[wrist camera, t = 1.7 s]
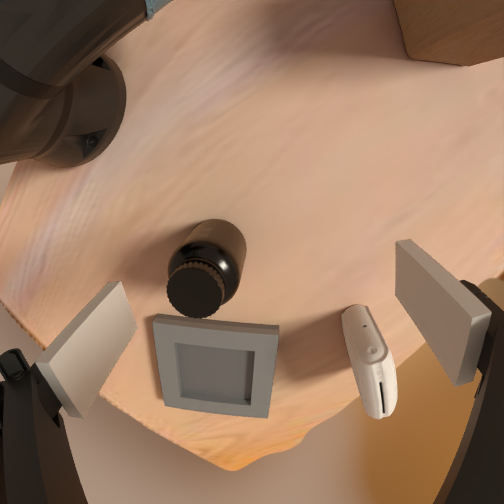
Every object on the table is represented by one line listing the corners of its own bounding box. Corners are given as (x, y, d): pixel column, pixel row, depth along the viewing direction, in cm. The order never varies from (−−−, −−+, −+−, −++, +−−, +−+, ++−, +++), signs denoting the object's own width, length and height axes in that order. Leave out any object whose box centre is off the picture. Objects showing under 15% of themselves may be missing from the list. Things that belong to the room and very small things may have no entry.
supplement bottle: (182, 263, 38) (148, 313, 26) (197, 210, 35) (163, 242, 24) (236, 281, 38) (222, 339, 27) (255, 229, 36) (246, 271, 24)
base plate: (168, 396, 46) (164, 405, 44) (157, 313, 40) (152, 322, 38) (268, 408, 45) (267, 418, 43) (278, 325, 40) (279, 335, 38)
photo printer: (336, 308, 38) (357, 373, 27) (368, 298, 38) (399, 359, 26) (350, 366, 41) (368, 431, 30) (378, 357, 41) (403, 420, 29)
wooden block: (470, 68, 27) (584, 45, 8) (405, 60, 28) (513, 8, 9) (453, 1, 23) (544, -51, 4) (386, -11, 24) (461, -95, 6)
